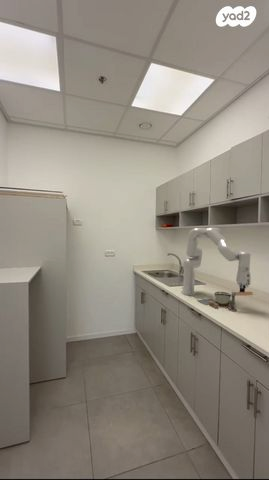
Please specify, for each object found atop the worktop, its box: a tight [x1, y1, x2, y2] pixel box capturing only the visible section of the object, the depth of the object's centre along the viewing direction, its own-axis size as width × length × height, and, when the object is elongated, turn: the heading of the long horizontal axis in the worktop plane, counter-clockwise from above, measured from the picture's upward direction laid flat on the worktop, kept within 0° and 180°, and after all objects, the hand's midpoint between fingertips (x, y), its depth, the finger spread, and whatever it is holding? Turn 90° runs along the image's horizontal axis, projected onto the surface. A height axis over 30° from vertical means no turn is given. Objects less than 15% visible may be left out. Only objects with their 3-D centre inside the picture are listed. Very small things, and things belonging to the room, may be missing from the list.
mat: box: [196, 298, 215, 306], centre depth 181 cm, size 10×15×1 cm, turn 113°
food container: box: [213, 291, 232, 308], centre depth 174 cm, size 12×6×10 cm, turn 77°
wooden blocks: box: [207, 296, 238, 312], centre depth 169 cm, size 16×19×10 cm
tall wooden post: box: [230, 291, 254, 297], centre depth 164 cm, size 16×3×2 cm, turn 102°
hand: (242, 293), depth 168 cm, fingers closed
